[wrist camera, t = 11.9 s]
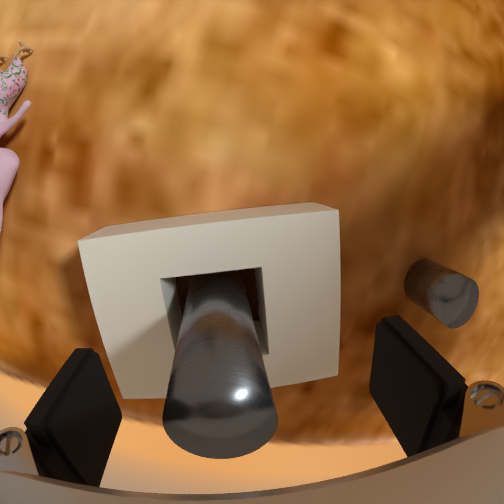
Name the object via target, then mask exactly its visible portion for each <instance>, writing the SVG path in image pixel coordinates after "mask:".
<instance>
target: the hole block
mask: <svg viewBox="0 0 504 504" xmlns="http://www.w3.org/2000/svg"><path fill="white" fill-rule="evenodd" d="M78 246H79V251H80V256H81V260H82V265H83V270H84V274H85V279H86V283H87V287H88V291H89V295H90V299H91V303H92V306H93V310H94V314H95V317H96V321H97V324H98V328H99V331H100V334H101V337H102V341H103V344H104V347H105V350H106V353H107V356H108V359H109V362H110V365H111V368H112V370H113V373H114V376H115V379H116V381H117V384H118V387H119V389H120V392H121V394H122V397H123V399H155V398H166V395H167V390H168V384H169V379H170V374H171V369H172V364H173V359H174V354H175V349H176V345H177V340H178V335H179V331H180V326H181V321H182V311H181V306H180V301H179V295H178V290H177V284H176V278H175V277H179V276H188V275H196V274H205V273H214V272H223V271H231V270H240V269H248V268H255V279H256V289H257V300H258V310H259V320H256V321H253V322H254V326H255V330H256V334H257V338H258V342H259V346H260V350H261V354H262V358H263V361H264V365H265V369H266V373H267V377H268V381H269V385H270V388H273V387H279V386H285V385H291V384H297V383H303V382H308V381H313V380H318V379H323V378H328V377H333V376H337V375H338V366H339V344H340V301H341V272H340V229H339V210H337V209H334V208H331V207H328V206H325V205H321V204H318V203H315V202H308V203H296V204H285V205H275V206H265V207H255V208H245V209H236V210H227V211H218V212H209V213H201V214H193V215H185V216H177V217H169V218H162V219H154V220H147V221H140V222H133V223H126V224H119V225H113V226H106V227H104V228H102V229H100V230H98V231H96V232H94V233H92V234H90V235H88V236H86V237H84V238H82V239H80V240H78Z"/></svg>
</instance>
